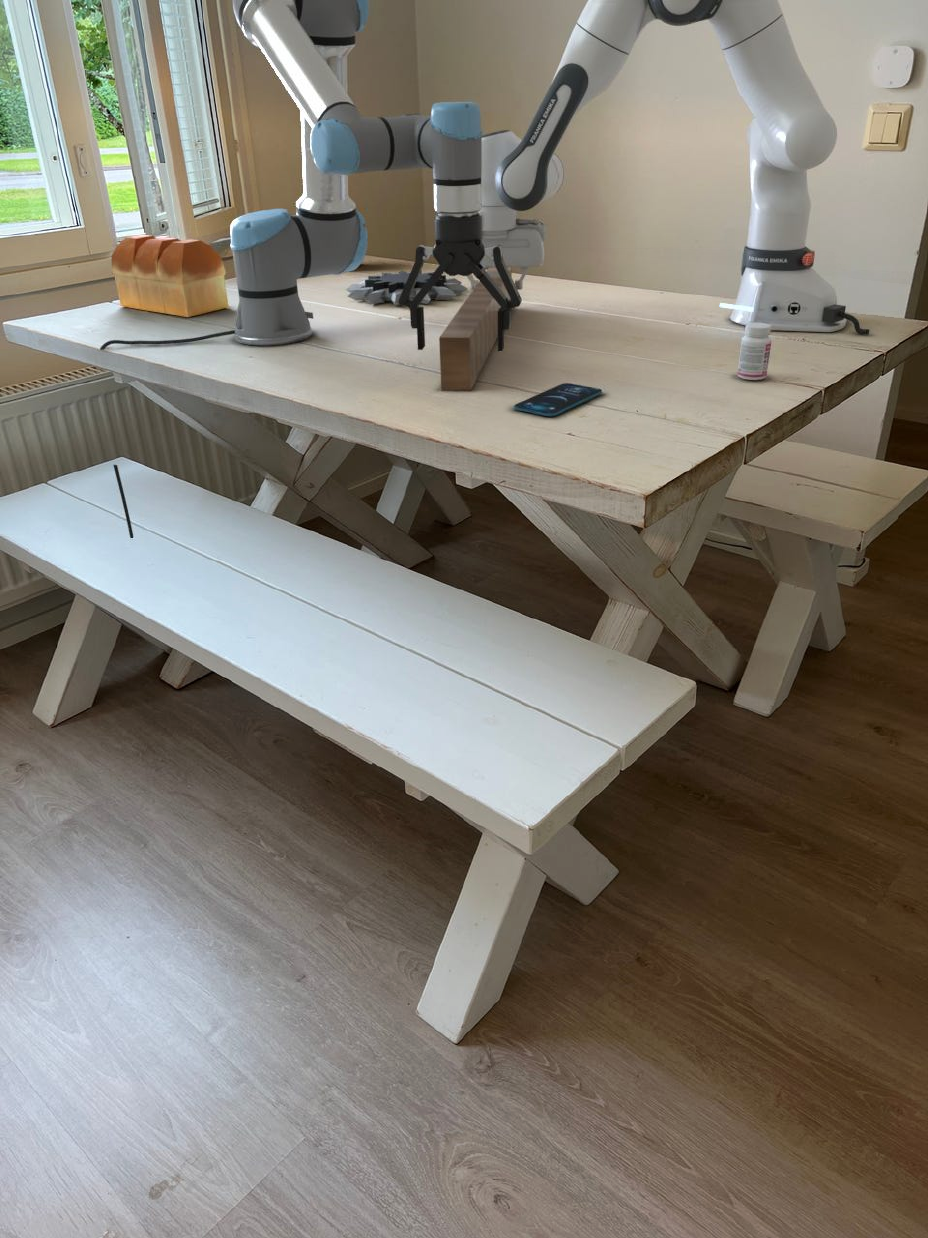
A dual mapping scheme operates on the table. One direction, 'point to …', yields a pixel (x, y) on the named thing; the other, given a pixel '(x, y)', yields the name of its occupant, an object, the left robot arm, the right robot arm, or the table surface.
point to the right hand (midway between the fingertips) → (496, 289)
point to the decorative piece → (393, 285)
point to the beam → (470, 337)
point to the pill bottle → (755, 351)
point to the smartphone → (558, 399)
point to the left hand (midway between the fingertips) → (460, 348)
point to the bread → (169, 275)
